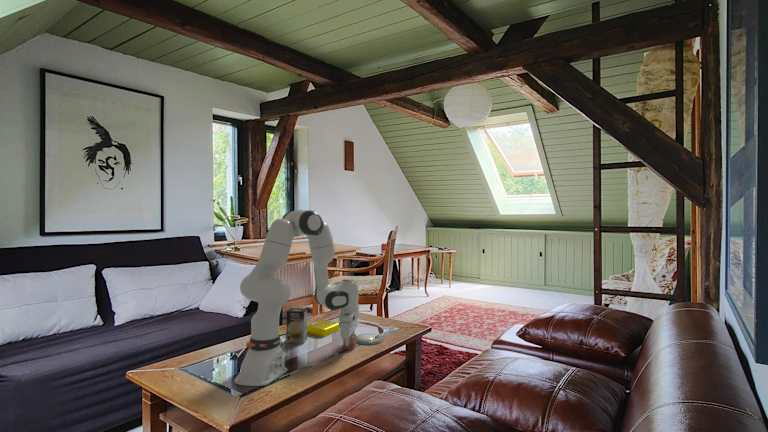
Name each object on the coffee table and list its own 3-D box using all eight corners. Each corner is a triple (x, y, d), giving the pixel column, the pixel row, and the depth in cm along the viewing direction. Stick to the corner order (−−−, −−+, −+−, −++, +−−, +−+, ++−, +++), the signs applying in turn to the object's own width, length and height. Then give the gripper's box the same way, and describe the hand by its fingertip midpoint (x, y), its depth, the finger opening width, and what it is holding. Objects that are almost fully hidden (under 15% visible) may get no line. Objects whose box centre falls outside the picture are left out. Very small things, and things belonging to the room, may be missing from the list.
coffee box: (285, 343, 207) (285, 311, 206) (289, 339, 213) (289, 307, 213) (303, 344, 206) (303, 311, 205) (307, 339, 212) (307, 308, 212)
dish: (380, 345, 204) (380, 343, 204) (352, 343, 206) (352, 341, 206) (384, 336, 218) (384, 334, 218) (358, 334, 220) (358, 332, 220)
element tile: (323, 338, 216) (323, 329, 216) (301, 333, 223) (301, 324, 223) (340, 330, 229) (340, 321, 229) (319, 326, 236) (319, 317, 236)
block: (353, 349, 198) (353, 337, 198) (343, 349, 199) (343, 336, 199) (355, 346, 203) (355, 333, 203) (345, 345, 204) (345, 333, 204)
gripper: (348, 307, 212) (348, 334, 212) (337, 319, 191) (337, 349, 192) (360, 308, 211) (360, 335, 211) (351, 319, 190) (351, 349, 191)
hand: (349, 341), depth 201 cm, fingers open, 8 cm apart
